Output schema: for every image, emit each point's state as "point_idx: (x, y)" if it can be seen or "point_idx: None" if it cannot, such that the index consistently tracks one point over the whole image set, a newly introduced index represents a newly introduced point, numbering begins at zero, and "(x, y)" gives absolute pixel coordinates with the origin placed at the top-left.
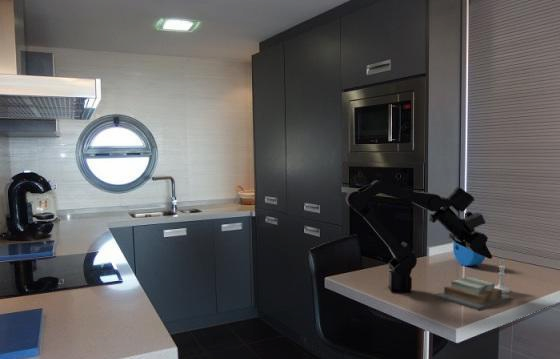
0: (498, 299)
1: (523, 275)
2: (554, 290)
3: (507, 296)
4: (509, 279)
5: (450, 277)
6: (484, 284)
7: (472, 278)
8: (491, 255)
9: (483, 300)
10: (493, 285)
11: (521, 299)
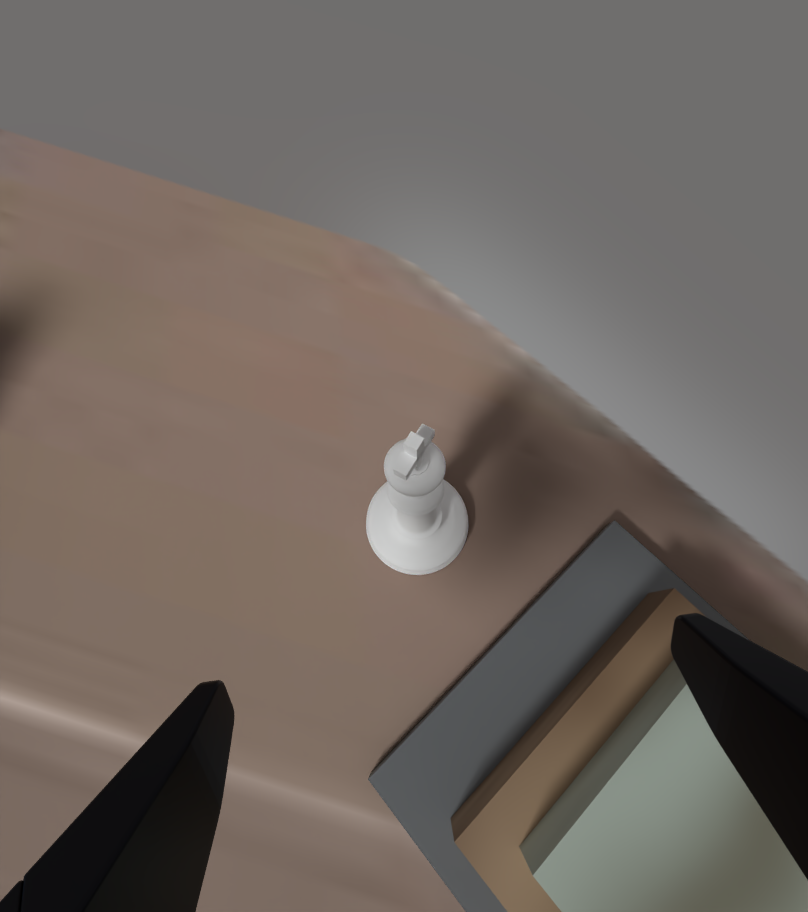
0: None
1: (80, 293)
2: (381, 251)
3: (625, 547)
4: (159, 393)
5: None
6: None
7: (593, 839)
8: (732, 635)
9: None
10: None
11: (600, 466)
